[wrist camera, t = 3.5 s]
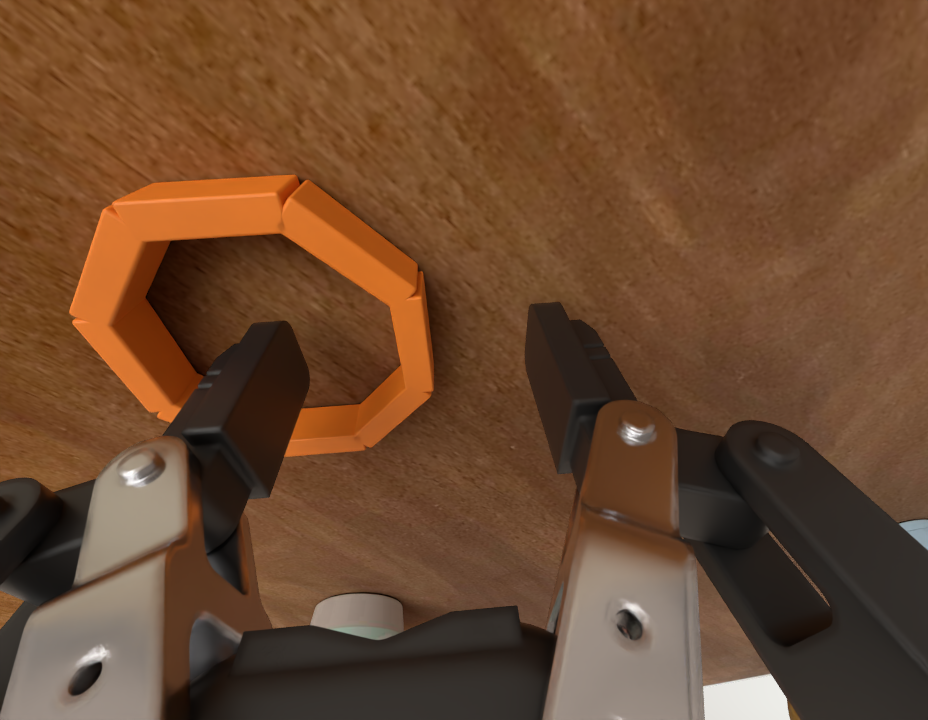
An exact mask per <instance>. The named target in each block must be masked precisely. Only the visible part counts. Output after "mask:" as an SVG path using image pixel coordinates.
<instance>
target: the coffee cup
mask: <svg viewBox="0 0 928 720" xmlns="http://www.w3.org/2000/svg"><path fill="white" fill-rule="evenodd" d="M310 625H314V626H318V627H323V628H327V629H331V630H335V631H339V632H344V633H348V634H352V635H356V636H361V637H365V638H369V639H374V640H382V639H386V638H389V637H391V636H394V635H396V634H398V633H401V632H403V631H404V625H403V607H402V605H401V603H400V602H399V601H397V600H395V599H393V598H391V597H388V596H384V595H378V594H367V593H355V594H344V595H339V596H334V597H331V598H328V599H326V600H323V601H322V602H320V603H319V604H318V605H317V606H316V608H315V611H314V614H313V617H312V620H311V623H310Z"/></svg>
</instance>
